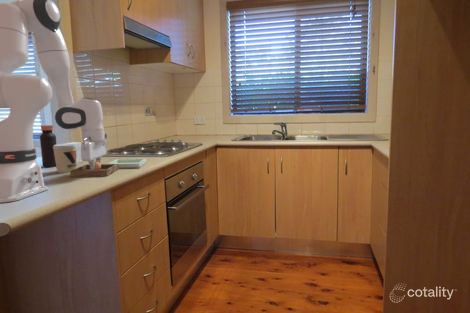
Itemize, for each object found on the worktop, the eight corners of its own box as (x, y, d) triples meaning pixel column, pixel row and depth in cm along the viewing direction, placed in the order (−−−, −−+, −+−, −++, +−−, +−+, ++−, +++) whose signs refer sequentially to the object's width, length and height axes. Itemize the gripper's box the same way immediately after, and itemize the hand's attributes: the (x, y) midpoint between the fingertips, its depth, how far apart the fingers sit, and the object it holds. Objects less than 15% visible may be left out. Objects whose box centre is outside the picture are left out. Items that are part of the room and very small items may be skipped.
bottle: (40, 166, 162) (36, 125, 159) (54, 164, 167) (50, 125, 164) (46, 168, 158) (42, 126, 155) (61, 166, 163) (57, 125, 160)
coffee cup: (69, 173, 144) (66, 146, 142) (50, 172, 146) (47, 145, 144) (82, 169, 153) (80, 143, 151) (65, 169, 155) (62, 143, 153)
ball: (99, 172, 142) (98, 162, 141) (88, 172, 141) (88, 162, 141) (102, 170, 146) (102, 160, 145) (92, 170, 146) (92, 160, 145)
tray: (139, 168, 154) (139, 163, 154) (106, 168, 153) (106, 164, 153) (146, 162, 169) (146, 158, 169) (116, 163, 168) (116, 159, 168)
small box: (74, 161, 176) (72, 142, 175) (83, 162, 175) (81, 142, 173) (62, 164, 168) (61, 143, 167) (72, 164, 167) (70, 143, 165)
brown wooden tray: (107, 176, 137) (106, 170, 136) (70, 177, 136) (70, 171, 135) (118, 169, 152) (118, 163, 152) (85, 170, 151) (85, 164, 151)
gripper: (91, 138, 131) (94, 172, 133) (108, 134, 152) (110, 164, 154) (75, 138, 131) (78, 172, 133) (94, 134, 151) (96, 164, 153)
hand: (95, 168), depth 143 cm, fingers closed on ball, 4 cm apart
